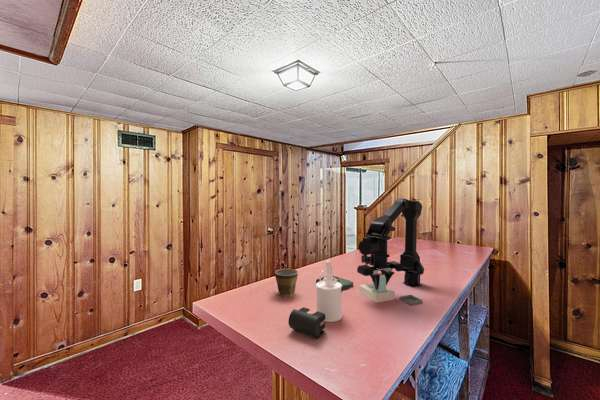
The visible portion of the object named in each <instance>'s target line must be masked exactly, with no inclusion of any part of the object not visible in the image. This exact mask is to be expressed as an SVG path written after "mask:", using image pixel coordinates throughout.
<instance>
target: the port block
mask: <svg viewBox="0 0 600 400" xmlns="http://www.w3.org/2000/svg"><path fill="white" fill-rule="evenodd" d="M358 289H359V293H360V294H361V295H363V296H364V297H366V298H368V299H369V300H371V301H373V302H375V304H376V303H382V302H387V301H392V300H395V299H396V298H395V297H396V294H395V291H394V290H391V289H390V288H388V287H386V292H383V293H378V292H376V291H375V286H374V283H373V282H372V283H371V282H370V283H366V284H360V285H359V286H358Z"/></svg>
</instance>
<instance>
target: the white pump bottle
mask: <svg viewBox="0 0 600 400" xmlns="http://www.w3.org/2000/svg"><path fill="white" fill-rule="evenodd" d="M324 272H325V273H324ZM323 273H324V274H325V275H324V276H323V277H324V279H325V281H323V280H324V279H323V280H322V281H321V278H322V275H323ZM325 276H326V277H325ZM332 276H333V263H332V260H326V262H325V269H322V270H321V272H320V274H319V278H318V279H320V282H318V283H316V282H315V287H316V312H317V311H318V312H321V313H324V314H325V320H324V321H323V322H324V323H326V322H327V323H335V322H338V321H340V320H341V319H343V314H342V291H341V288H342V284H341V283H339V282H337V278H334V277H332ZM333 279H334V281H333Z"/></svg>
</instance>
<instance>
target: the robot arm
mask: <svg viewBox="0 0 600 400" xmlns="http://www.w3.org/2000/svg"><path fill="white" fill-rule="evenodd" d="M422 209H423V205H422V203H421V202H420V201H419V200H410V199H407V198H397V199H395V200H394V203H392V205H391V206H390V207H389V208H388V209H387V211H386V212H384V214H383V215H382V216H378V217H376V218H375V219H372V221H371V222H370V225H369V227H368V229H367V231H366V234H365V237H362V240H361V241H360V242H359V244H358V251H359V253H360V254H361V259H360V260H361V263H362V264H361V265H358V266H357V268H356V269H357V273H358V274H359V275H363V276H364V277H368V276H370V278H371V281H372V283H374V286H375V289H376V290H378V287H379V279H380V275H379V271H380V273H381V274H384V275H385V277H386V286H387V285H388V283H389V282H390V280H391V279H392V277H393V275H394V274H395V272H394V271H393V270H395V271H396V272H404V277H403V278H404V279H403V280H404V281H403V282H402V284H404V285H405V286H408V287H410V288H417V287H423V284H422V283H421V276H422V275H424V273H425V268H424V266H423V265H422V263H421V257H420V255H419V253H418V252H417V241H418V240H417V237H418V235H417V234H418V233H417V232H418V230H417V229H418V227H417V226H418V220H419V218H420V216H421V215H422ZM401 214H402V216H403V218H404V219H405V226H404V227H405V230H404V231H405V233H404V251H403V252H402V253H400V258H399V259H400V260H399V262H397V261H394V260H393V261H388V258H390V253H389V254H388V241H389V240H391V237H390V236H388V235H389V234H390V233H391V231H392V229H393V223H394V222H395V221H396V220H397V219H398V217H399V216H400V215H401ZM369 255H370V256H369ZM364 263H365V264H364Z"/></svg>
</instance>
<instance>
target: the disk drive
mask: <svg viewBox="0 0 600 400" xmlns="http://www.w3.org/2000/svg"><path fill="white" fill-rule="evenodd" d="M324 277H326V276H325V275H324V276H321V281H322V280H323V279H324ZM332 277H334V278H337V282H339V283H341V284H342V288H341V292H343V291H346V290H348V289H350V288H352V287H354V282H353V281H351V280H348V279H346V278H345V279H344V278H342V277H338V276H334V275H332ZM323 281H325V279H324V280H323ZM333 281H334V279H333ZM318 282H320V279H319V278H317V279H316V280H315V284H316V283H318Z"/></svg>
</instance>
